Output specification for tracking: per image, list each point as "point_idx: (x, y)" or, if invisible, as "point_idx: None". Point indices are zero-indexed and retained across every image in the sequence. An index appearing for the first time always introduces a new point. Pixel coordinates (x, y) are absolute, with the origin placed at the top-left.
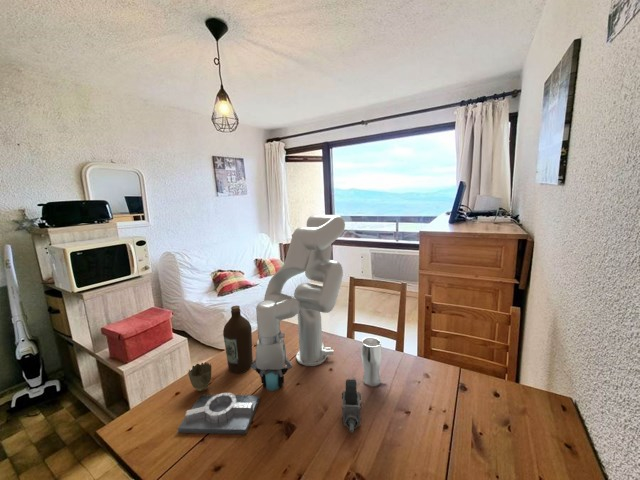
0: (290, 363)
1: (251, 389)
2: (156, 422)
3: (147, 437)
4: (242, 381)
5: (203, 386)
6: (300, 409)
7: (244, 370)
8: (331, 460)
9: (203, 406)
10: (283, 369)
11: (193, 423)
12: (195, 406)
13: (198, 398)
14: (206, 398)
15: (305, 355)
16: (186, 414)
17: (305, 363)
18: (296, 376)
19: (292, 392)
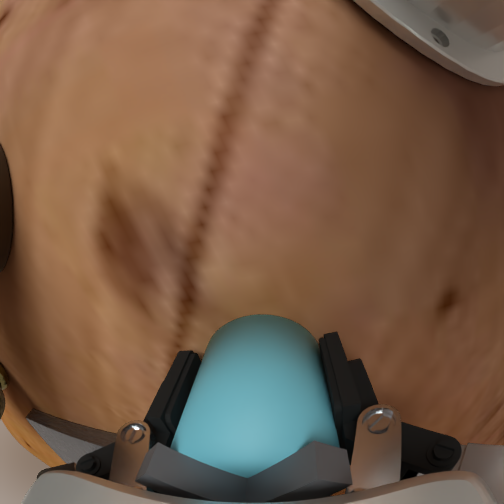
0: (501, 493)
1: (137, 394)
2: (40, 446)
3: None
4: (51, 334)
5: (4, 406)
6: (440, 430)
7: (3, 256)
8: None
9: (75, 459)
10: (402, 476)
11: None
12: (59, 453)
13: (35, 429)
14: (50, 436)
15: (484, 13)
16: None
17: (467, 67)
18: (429, 219)
19: (414, 378)
